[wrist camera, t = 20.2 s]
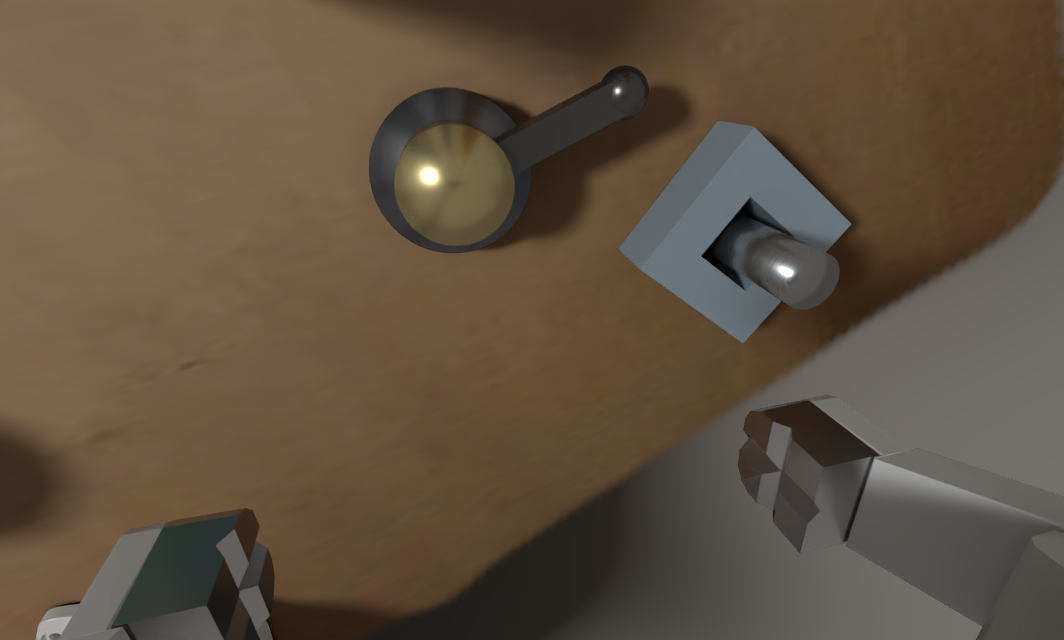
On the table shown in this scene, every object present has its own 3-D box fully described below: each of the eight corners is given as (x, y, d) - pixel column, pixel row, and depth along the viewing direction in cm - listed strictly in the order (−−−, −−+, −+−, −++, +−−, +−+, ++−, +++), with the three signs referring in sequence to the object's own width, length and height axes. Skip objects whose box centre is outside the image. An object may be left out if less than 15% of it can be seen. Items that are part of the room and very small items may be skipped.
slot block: (713, 318, 39) (742, 343, 35) (617, 248, 35) (639, 269, 31) (809, 208, 36) (851, 224, 33) (717, 120, 32) (754, 126, 29)
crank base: (472, 268, 33) (474, 280, 32) (343, 190, 30) (338, 197, 28) (554, 151, 31) (562, 155, 29) (425, 50, 28) (425, 49, 26)
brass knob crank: (433, 247, 30) (433, 265, 27) (375, 152, 27) (369, 161, 24) (652, 132, 29) (674, 139, 27) (616, 23, 27) (637, 18, 24)
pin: (716, 258, 36) (809, 319, 28) (684, 237, 35) (770, 293, 26) (745, 220, 36) (851, 270, 27) (713, 197, 34) (813, 241, 26)
